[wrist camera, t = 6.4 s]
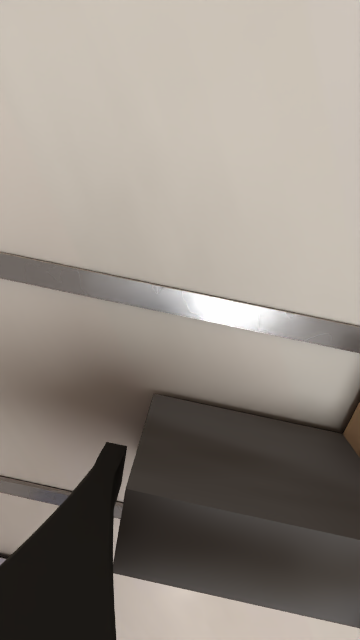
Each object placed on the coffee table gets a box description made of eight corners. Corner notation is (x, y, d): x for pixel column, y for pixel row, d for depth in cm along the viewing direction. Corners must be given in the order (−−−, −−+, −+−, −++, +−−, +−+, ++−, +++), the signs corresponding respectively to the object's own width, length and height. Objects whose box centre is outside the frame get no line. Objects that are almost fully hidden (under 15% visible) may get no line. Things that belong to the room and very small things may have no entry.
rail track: (580, 620, 14) (613, 653, 13) (-22, 487, 15) (-41, 508, 13) (854, 420, 9) (944, 446, 8) (-51, 233, 10) (-84, 233, 9)
